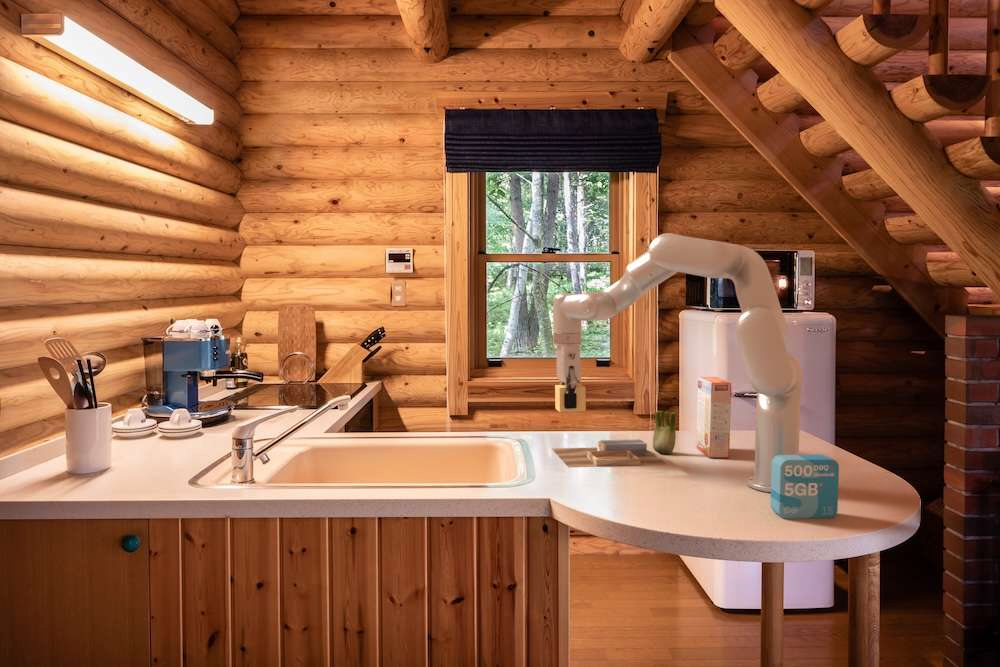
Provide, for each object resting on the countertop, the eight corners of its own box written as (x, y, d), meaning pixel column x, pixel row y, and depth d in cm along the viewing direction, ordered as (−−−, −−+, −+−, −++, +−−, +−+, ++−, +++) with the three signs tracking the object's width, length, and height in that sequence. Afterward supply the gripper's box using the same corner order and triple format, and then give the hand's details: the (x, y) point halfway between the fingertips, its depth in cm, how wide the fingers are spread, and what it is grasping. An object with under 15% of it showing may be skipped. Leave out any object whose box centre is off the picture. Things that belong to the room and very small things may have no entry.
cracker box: (730, 458, 200) (732, 382, 199) (708, 458, 200) (710, 382, 199) (716, 447, 214) (718, 376, 213) (695, 447, 214) (697, 376, 213)
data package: (779, 519, 147) (780, 459, 147) (769, 512, 152) (771, 454, 151) (837, 518, 148) (839, 459, 147) (826, 511, 152) (828, 454, 152)
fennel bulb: (677, 454, 205) (678, 411, 204) (664, 456, 202) (665, 413, 202) (661, 450, 210) (662, 408, 209) (649, 452, 207) (650, 410, 206)
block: (585, 411, 196) (585, 386, 195) (559, 412, 195) (559, 387, 195) (580, 407, 202) (580, 384, 201) (555, 408, 201) (555, 385, 201)
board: (668, 469, 188) (668, 452, 187) (568, 471, 185) (568, 455, 184) (641, 450, 210) (641, 435, 209) (551, 452, 206) (551, 437, 206)
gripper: (588, 341, 189) (589, 411, 190) (573, 337, 206) (574, 401, 207) (560, 341, 188) (560, 411, 189) (547, 338, 205) (548, 402, 206)
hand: (567, 405), depth 198 cm, fingers closed on block, 6 cm apart
